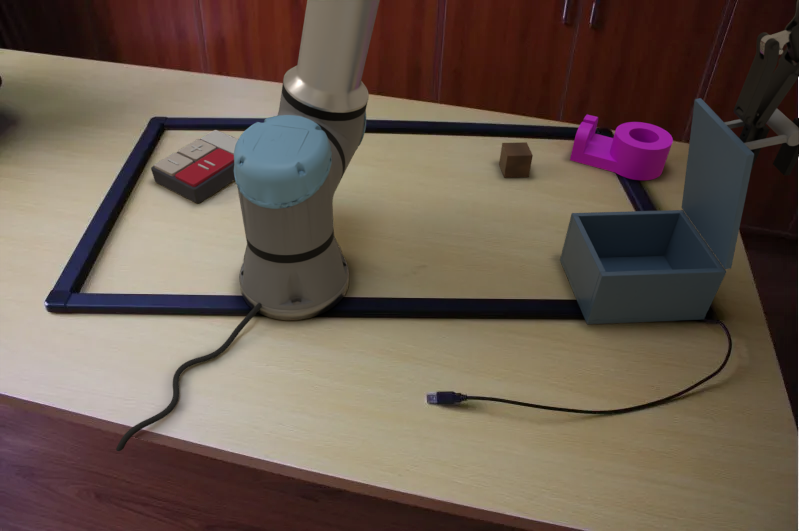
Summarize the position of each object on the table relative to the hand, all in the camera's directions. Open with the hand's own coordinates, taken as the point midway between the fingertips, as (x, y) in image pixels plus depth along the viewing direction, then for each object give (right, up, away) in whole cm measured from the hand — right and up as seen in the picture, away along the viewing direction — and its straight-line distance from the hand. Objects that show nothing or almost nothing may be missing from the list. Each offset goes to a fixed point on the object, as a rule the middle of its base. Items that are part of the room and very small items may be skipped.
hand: (760, 169), depth 81 cm
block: (-25, +5, +35) cm, 43 cm away
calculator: (-79, +4, +32) cm, 85 cm away
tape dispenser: (-5, +7, +39) cm, 40 cm away
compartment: (-12, -15, +12) cm, 23 cm away
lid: (-6, -2, +1) cm, 6 cm away
